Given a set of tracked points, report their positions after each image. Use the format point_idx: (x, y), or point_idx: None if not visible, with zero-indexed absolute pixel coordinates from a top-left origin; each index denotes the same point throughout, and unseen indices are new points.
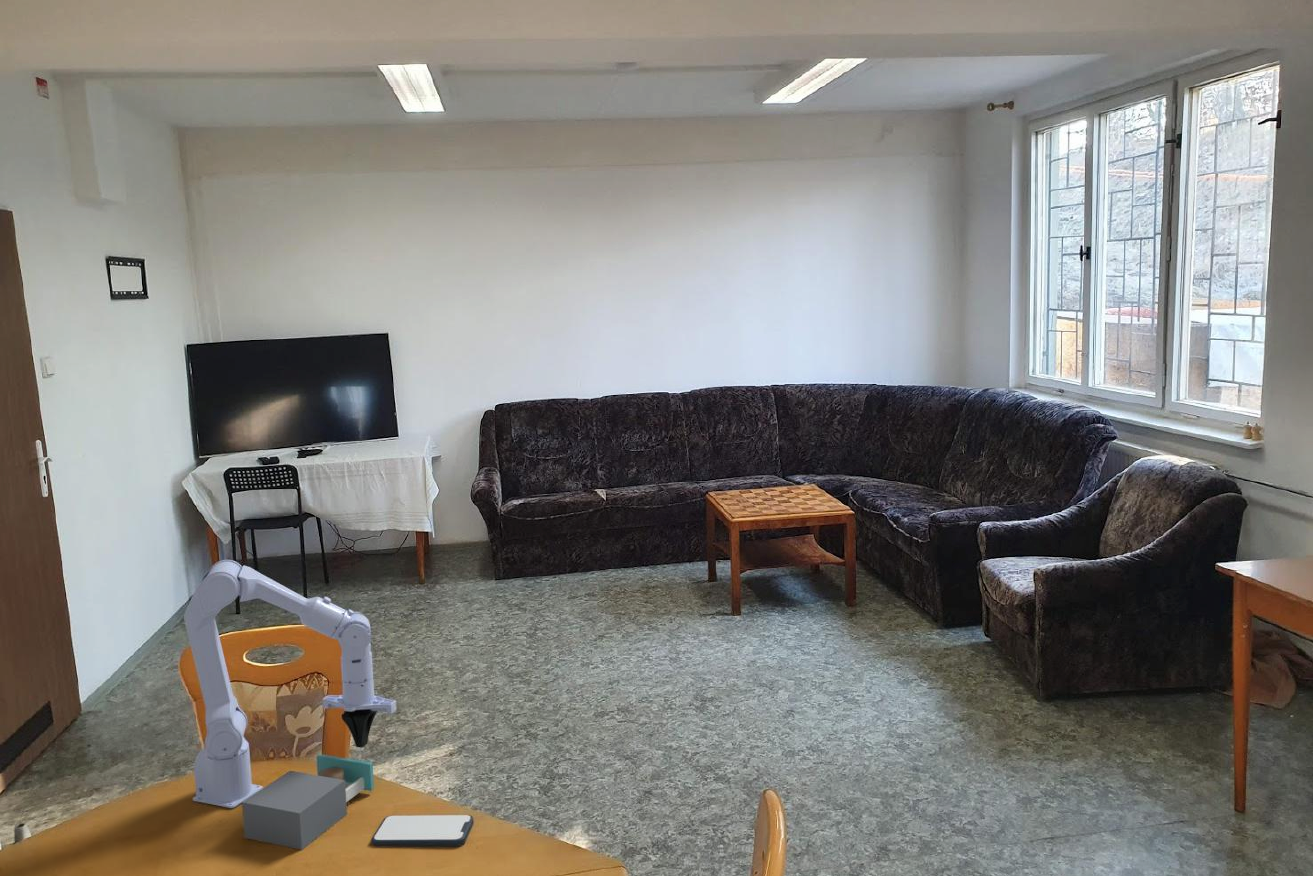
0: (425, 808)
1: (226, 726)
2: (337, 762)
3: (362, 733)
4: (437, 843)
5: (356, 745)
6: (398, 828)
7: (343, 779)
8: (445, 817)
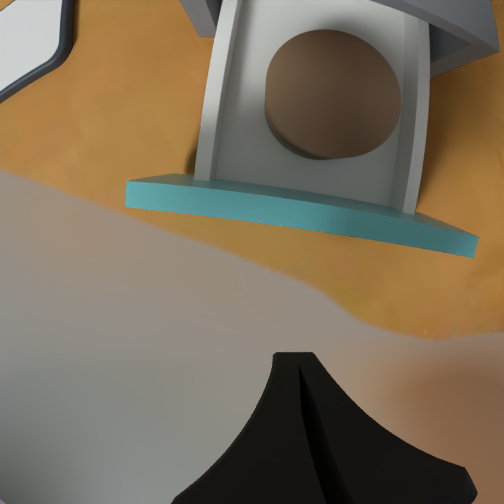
0: (11, 151)
1: None
2: (361, 209)
3: (255, 410)
4: None
5: (311, 357)
6: (23, 25)
7: (267, 111)
8: None
